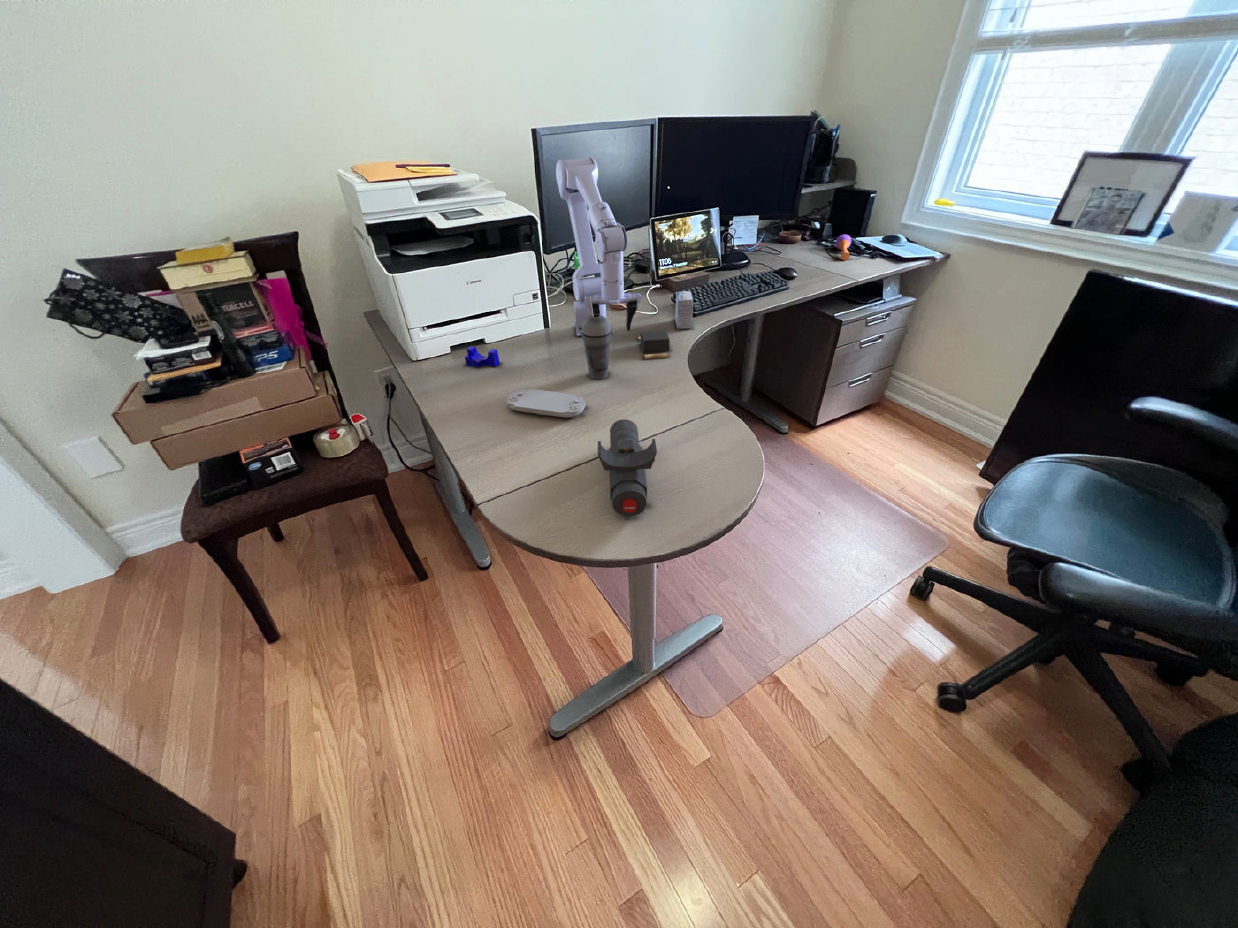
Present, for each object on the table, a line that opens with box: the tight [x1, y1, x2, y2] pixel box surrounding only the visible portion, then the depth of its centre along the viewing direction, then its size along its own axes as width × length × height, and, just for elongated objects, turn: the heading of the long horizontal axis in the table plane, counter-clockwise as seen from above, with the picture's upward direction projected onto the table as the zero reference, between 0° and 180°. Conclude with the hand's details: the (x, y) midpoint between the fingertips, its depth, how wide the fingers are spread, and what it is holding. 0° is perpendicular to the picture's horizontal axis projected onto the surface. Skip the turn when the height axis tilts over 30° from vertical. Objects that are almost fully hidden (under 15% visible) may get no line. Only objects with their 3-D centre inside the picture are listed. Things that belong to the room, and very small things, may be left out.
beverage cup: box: [581, 296, 612, 380], centre depth 118 cm, size 7×7×20 cm
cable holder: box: [464, 345, 501, 368], centre depth 129 cm, size 8×4×4 cm, turn 71°
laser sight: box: [597, 418, 658, 517], centre depth 88 cm, size 10×22×10 cm, turn 2°
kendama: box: [835, 234, 852, 262], centre depth 202 cm, size 6×6×20 cm
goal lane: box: [637, 336, 668, 360], centre depth 136 cm, size 6×14×1 cm, turn 6°
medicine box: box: [674, 290, 694, 330], centre depth 146 cm, size 8×4×9 cm, turn 179°
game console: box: [506, 388, 586, 419], centre depth 111 cm, size 18×2×8 cm
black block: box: [640, 330, 670, 354], centre depth 135 cm, size 7×6×4 cm
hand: (613, 330), depth 132 cm, fingers open, 7 cm apart
